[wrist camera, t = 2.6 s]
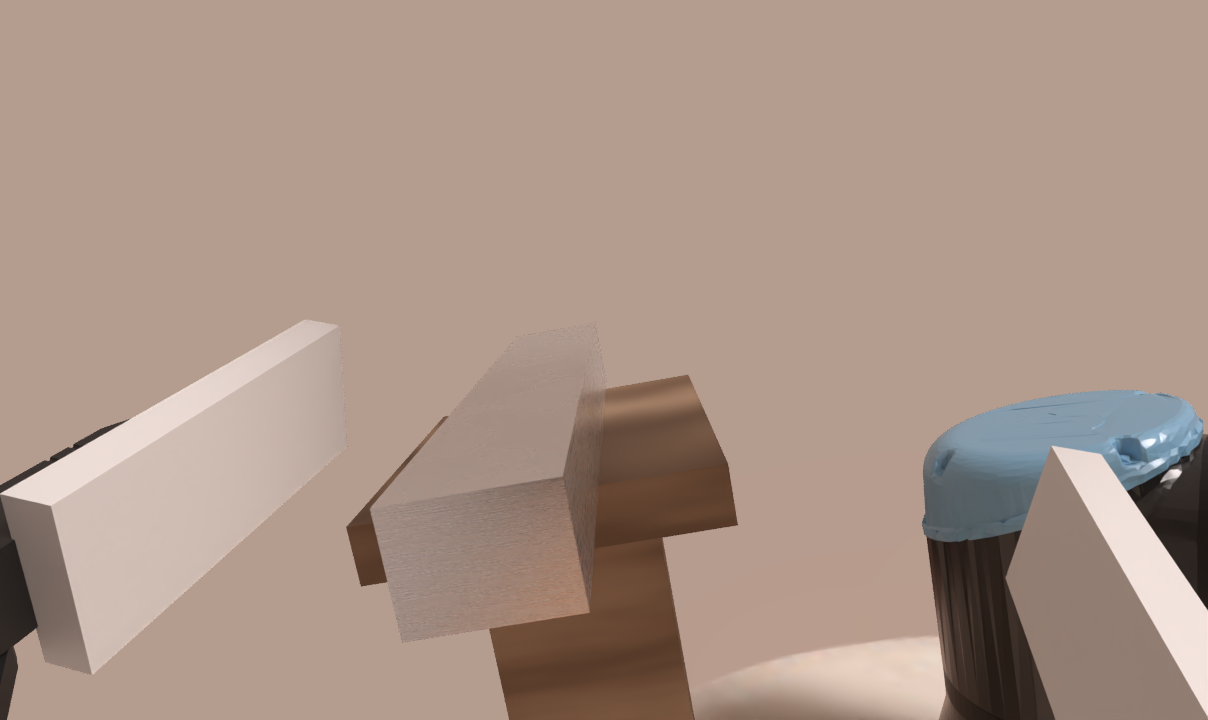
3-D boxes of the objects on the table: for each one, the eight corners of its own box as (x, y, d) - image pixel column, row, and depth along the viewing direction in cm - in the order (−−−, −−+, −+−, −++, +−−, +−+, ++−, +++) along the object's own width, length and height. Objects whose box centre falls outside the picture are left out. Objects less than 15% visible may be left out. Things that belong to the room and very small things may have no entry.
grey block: (528, 394, 40) (517, 336, 40) (606, 380, 40) (595, 322, 40) (402, 642, 17) (369, 508, 16) (589, 613, 16) (562, 476, 16)
